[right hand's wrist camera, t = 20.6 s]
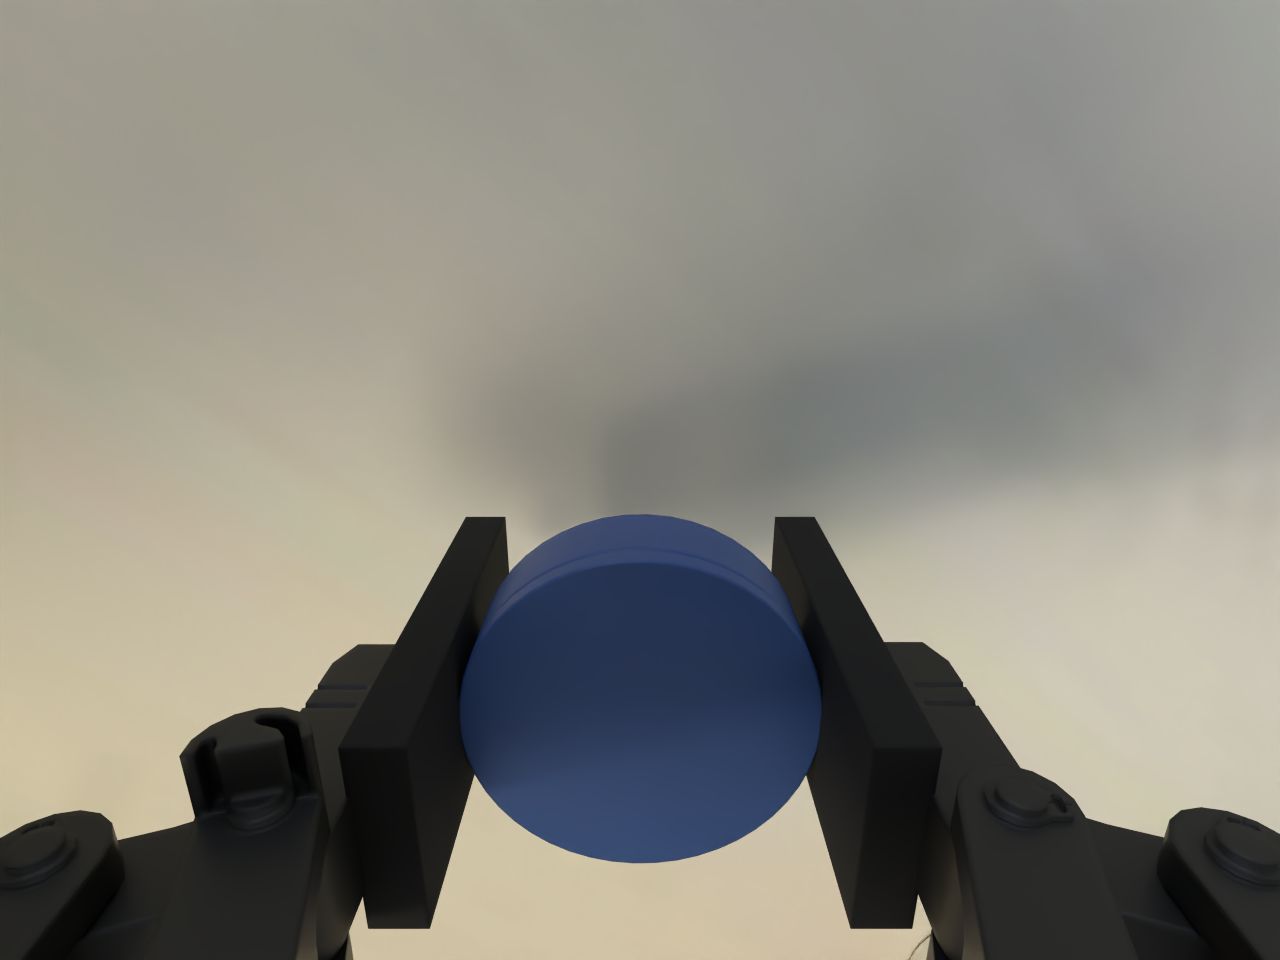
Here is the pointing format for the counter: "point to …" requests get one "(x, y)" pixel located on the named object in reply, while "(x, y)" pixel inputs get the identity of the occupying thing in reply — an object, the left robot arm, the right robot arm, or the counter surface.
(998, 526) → the counter surface
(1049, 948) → the right robot arm
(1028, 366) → the counter surface
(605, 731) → the lid
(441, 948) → the counter surface
